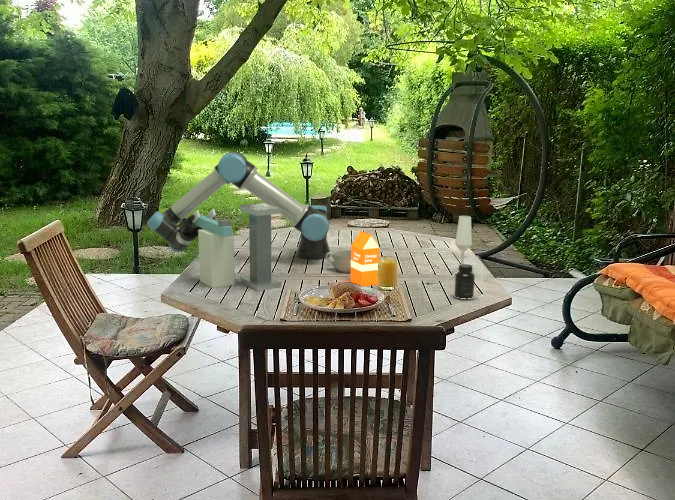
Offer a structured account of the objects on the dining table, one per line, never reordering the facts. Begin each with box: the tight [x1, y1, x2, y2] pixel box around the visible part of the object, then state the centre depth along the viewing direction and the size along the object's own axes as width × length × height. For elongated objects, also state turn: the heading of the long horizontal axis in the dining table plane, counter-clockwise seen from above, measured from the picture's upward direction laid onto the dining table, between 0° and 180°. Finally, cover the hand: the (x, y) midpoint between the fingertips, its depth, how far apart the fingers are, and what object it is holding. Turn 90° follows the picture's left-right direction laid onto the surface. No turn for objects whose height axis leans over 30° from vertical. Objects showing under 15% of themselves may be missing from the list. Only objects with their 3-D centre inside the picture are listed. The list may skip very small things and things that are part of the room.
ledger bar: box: [194, 214, 233, 237], centre depth 245 cm, size 28×4×6 cm, turn 34°
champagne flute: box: [454, 215, 473, 273], centre depth 264 cm, size 7×7×24 cm
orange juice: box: [350, 230, 380, 287], centre depth 248 cm, size 8×9×20 cm
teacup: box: [325, 248, 351, 274], centre depth 268 cm, size 14×11×8 cm
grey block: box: [197, 228, 235, 289], centre depth 245 cm, size 12×9×20 cm
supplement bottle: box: [453, 263, 476, 299], centre depth 232 cm, size 7×7×12 cm
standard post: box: [238, 202, 282, 292], centre depth 242 cm, size 14×10×30 cm
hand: (206, 212), depth 248 cm, fingers open, 6 cm apart
